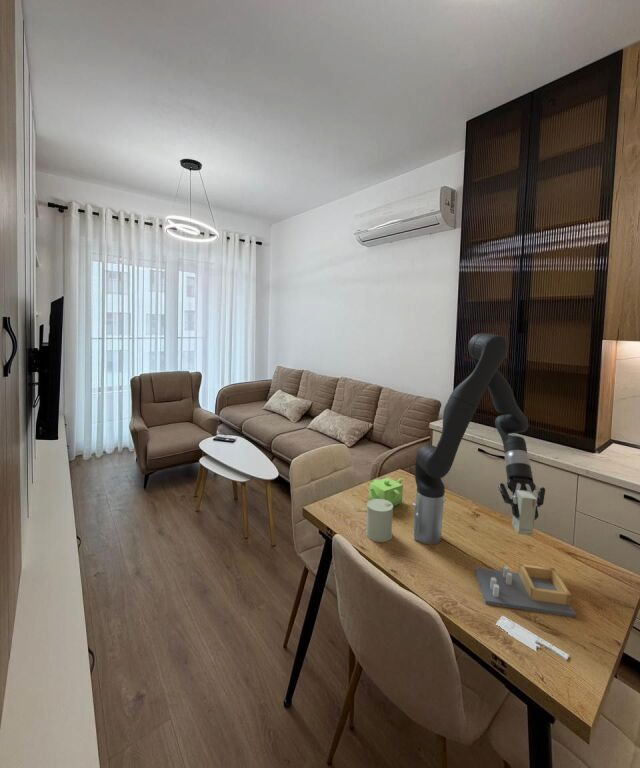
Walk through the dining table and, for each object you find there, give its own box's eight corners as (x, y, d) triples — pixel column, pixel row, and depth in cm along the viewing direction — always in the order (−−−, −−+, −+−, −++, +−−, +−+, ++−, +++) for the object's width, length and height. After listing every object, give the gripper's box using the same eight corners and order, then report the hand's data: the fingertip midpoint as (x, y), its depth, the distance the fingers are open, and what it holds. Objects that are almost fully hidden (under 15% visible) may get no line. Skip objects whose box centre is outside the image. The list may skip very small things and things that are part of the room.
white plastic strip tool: (561, 671, 82) (561, 667, 82) (493, 628, 93) (493, 624, 93) (568, 657, 85) (569, 653, 85) (502, 617, 96) (503, 614, 96)
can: (395, 540, 128) (397, 509, 126) (370, 543, 127) (371, 511, 125) (386, 526, 137) (388, 496, 135) (362, 528, 136) (363, 498, 134)
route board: (485, 603, 100) (487, 590, 100) (475, 570, 114) (476, 558, 113) (575, 617, 96) (577, 603, 95) (553, 580, 110) (554, 568, 109)
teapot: (402, 497, 160) (403, 474, 158) (405, 513, 147) (406, 489, 145) (367, 495, 162) (368, 472, 160) (366, 510, 149) (367, 486, 147)
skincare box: (533, 536, 113) (538, 499, 111) (517, 534, 114) (522, 498, 112) (525, 525, 120) (530, 490, 118) (511, 523, 121) (515, 488, 118)
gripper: (498, 459, 122) (504, 512, 112) (545, 464, 119) (556, 517, 110) (492, 468, 128) (498, 518, 119) (537, 472, 125) (546, 524, 116)
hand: (526, 518), depth 114 cm, fingers closed on skincare box, 4 cm apart
